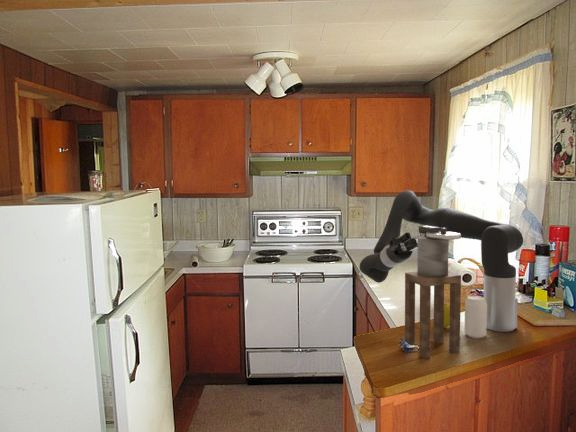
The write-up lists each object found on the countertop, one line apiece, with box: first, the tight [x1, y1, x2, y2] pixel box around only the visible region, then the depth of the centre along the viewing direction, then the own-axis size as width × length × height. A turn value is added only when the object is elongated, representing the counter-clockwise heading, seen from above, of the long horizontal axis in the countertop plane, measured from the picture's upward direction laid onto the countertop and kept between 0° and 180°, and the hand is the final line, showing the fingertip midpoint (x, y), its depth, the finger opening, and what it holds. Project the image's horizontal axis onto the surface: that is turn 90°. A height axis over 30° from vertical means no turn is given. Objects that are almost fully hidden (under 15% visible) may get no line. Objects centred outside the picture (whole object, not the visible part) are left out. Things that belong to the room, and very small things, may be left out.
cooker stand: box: [404, 237, 462, 359], centre depth 128 cm, size 12×9×32 cm
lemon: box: [444, 303, 450, 329], centre depth 146 cm, size 6×6×8 cm
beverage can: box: [464, 295, 488, 339], centre depth 138 cm, size 6×6×12 cm
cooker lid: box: [418, 225, 462, 241], centre depth 129 cm, size 9×14×3 cm, turn 20°
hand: (421, 233), depth 137 cm, fingers open, 8 cm apart
